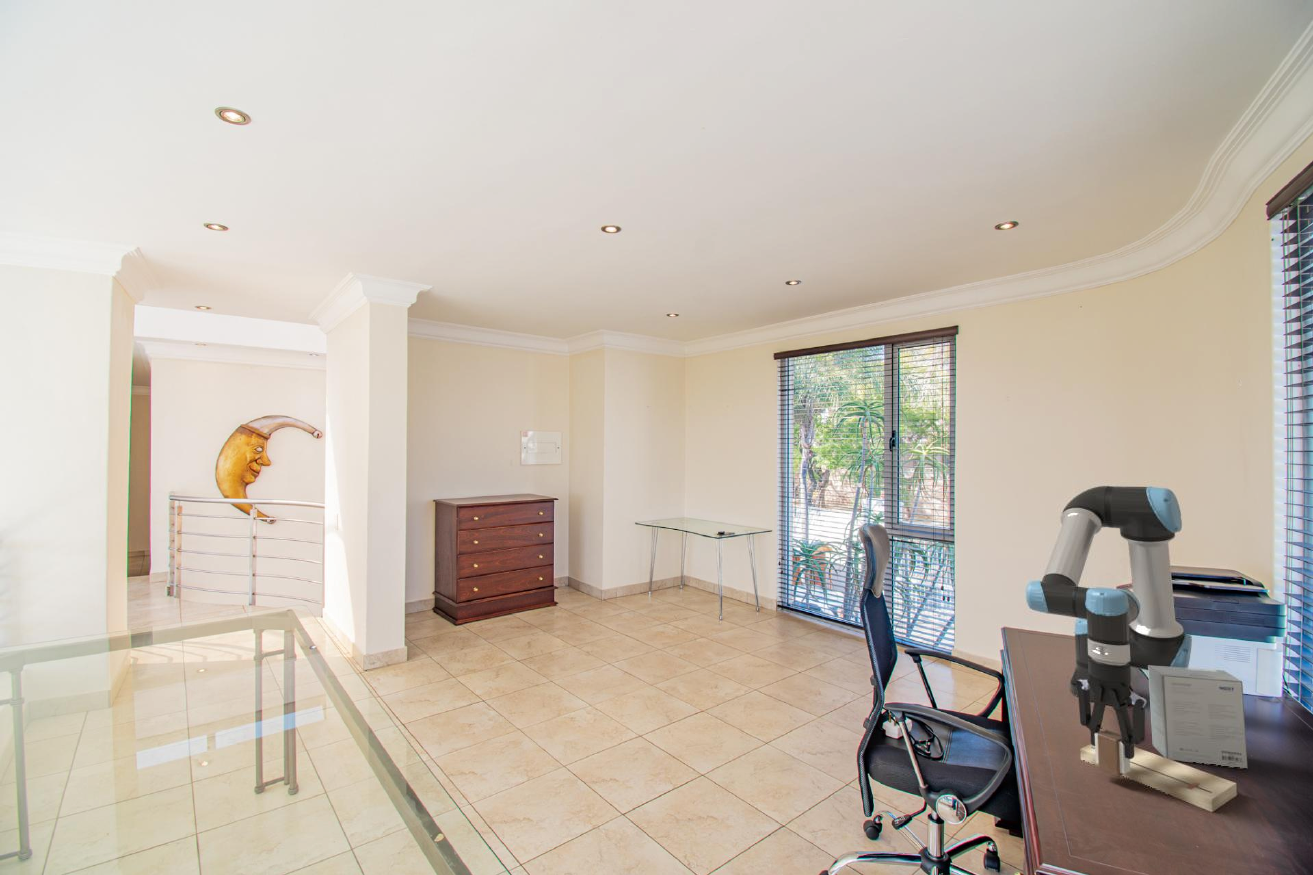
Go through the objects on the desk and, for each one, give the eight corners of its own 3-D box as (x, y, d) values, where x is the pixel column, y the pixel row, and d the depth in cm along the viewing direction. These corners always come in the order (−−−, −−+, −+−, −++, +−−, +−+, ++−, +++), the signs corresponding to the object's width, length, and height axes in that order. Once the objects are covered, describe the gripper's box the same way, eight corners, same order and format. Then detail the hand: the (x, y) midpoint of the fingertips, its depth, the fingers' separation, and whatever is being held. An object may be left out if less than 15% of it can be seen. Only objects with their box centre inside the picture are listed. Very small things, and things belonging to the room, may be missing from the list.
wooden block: (1118, 778, 129) (1117, 740, 129) (1097, 769, 132) (1096, 733, 133) (1128, 773, 131) (1126, 736, 131) (1107, 765, 134) (1106, 729, 135)
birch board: (1080, 759, 141) (1080, 748, 141) (1106, 747, 147) (1106, 736, 147) (1212, 812, 120) (1211, 798, 120) (1236, 795, 126) (1236, 782, 126)
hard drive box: (1229, 754, 142) (1225, 670, 143) (1249, 770, 135) (1245, 681, 136) (1150, 745, 148) (1147, 663, 148) (1165, 760, 140) (1162, 674, 141)
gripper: (1058, 651, 138) (1061, 754, 137) (1146, 675, 123) (1150, 790, 122) (1076, 646, 142) (1079, 746, 141) (1163, 668, 127) (1168, 780, 126)
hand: (1112, 766), depth 132 cm, fingers closed on wooden block, 4 cm apart
